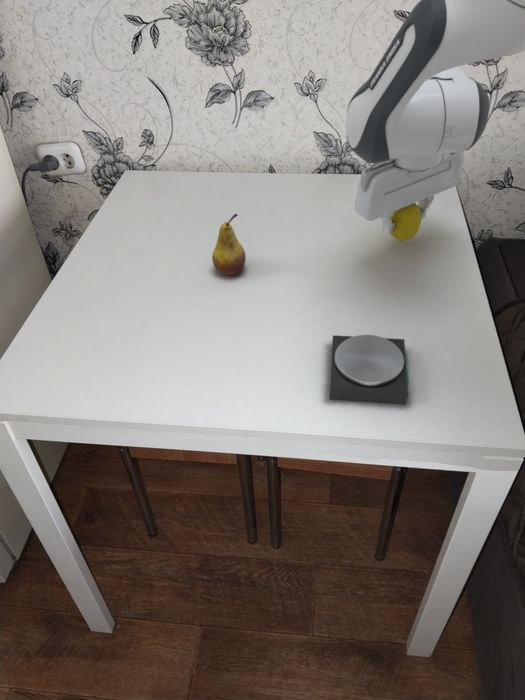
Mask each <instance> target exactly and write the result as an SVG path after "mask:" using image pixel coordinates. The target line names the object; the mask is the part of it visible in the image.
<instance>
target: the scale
mask: <svg viewBox="0 0 525 700" xmlns="http://www.w3.org/2000/svg"><path fill="white" fill-rule="evenodd" d="M351 337H354V336H350V335H336V334H335V335H332V340H331V359H330V360H331V361H330V378H329V379H330V380H329V400H331V401H346V402H357V403H358V402H359V403H372V404H373V403H375V404H388V405H390V404H391V405H404V406H405V405H406V404H407V399H408V395H409V384H410V377H409V364H408V354H406V345H405V344H406V343H405V339H404V338H390V337H389V338H388V337H384V338H385V339H387V340H389V341H391V342H392V343H394V344H395V345H396V346H397V347H398V348H399V349H400V351H401V352H402V355H403V358H404V365H403V370H402V372H401V373H400V375H399V376H398V377H397V378H396V379H395V380H393V381H391V382H389V383H387V384H384V385H379V386H366V385H360V384H357V383H354V382H352V381H350V380H348V379H347V378H345V377H344V376H343V375H342V374H341V373H340V372H339V371H338V369H337V367H336V365H335V352H336V350H337V348H338V346H339V345H340V344H341V343H342V342H343V341H345V340H347V339H349V338H351Z"/></svg>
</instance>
